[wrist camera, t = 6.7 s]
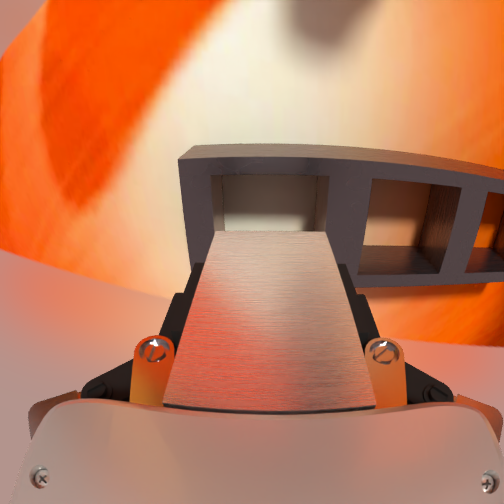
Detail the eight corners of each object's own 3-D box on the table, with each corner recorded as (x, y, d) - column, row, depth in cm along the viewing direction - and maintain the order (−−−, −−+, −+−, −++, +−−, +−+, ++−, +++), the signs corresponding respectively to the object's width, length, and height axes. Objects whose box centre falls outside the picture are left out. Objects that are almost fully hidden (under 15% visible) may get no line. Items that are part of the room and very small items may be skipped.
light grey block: (325, 231, 12) (376, 404, 5) (315, 314, 15) (335, 470, 8) (215, 230, 13) (162, 402, 6) (223, 313, 15) (196, 468, 8)
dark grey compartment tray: (523, 174, 18) (551, 191, 14) (500, 257, 22) (522, 280, 19) (194, 145, 19) (177, 159, 16) (204, 255, 24) (193, 286, 20)
